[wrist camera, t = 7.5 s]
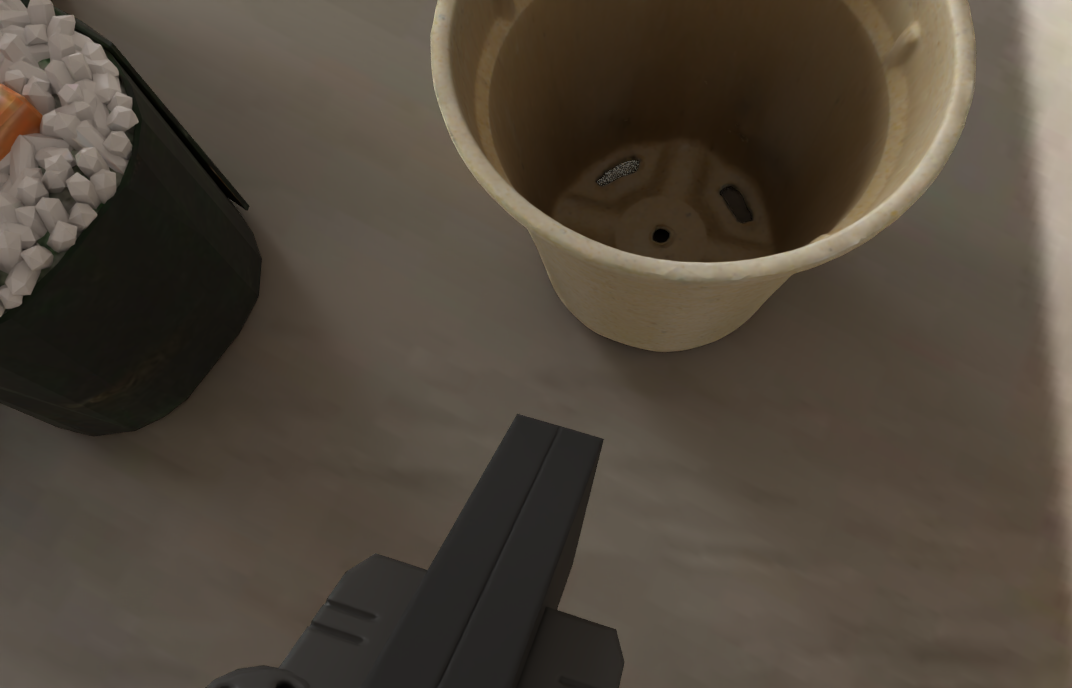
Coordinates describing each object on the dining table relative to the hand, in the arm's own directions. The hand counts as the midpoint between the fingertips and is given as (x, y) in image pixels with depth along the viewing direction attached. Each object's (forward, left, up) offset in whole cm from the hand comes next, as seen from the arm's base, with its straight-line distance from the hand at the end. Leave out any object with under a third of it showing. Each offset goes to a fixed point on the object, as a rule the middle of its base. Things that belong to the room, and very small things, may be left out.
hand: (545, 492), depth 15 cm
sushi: (-14, +3, -7) cm, 16 cm away
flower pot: (0, +8, -7) cm, 10 cm away
